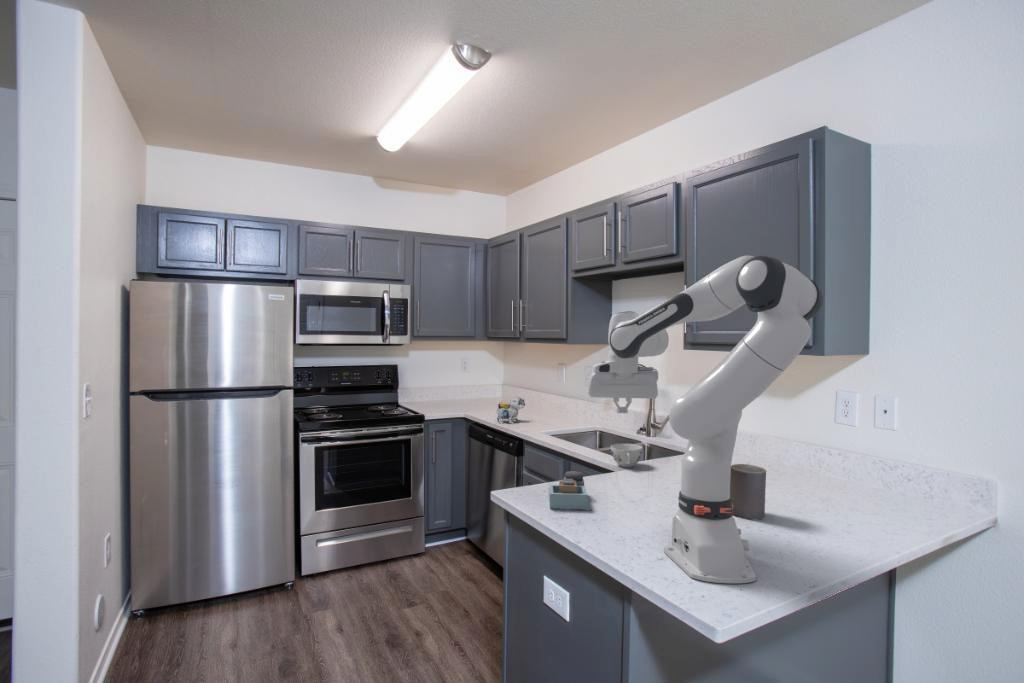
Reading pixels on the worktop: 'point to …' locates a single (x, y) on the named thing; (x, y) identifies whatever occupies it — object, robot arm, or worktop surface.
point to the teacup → (626, 454)
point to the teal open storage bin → (569, 497)
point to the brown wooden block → (567, 486)
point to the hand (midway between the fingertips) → (622, 413)
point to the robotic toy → (510, 410)
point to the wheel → (574, 475)
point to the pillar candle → (748, 491)
